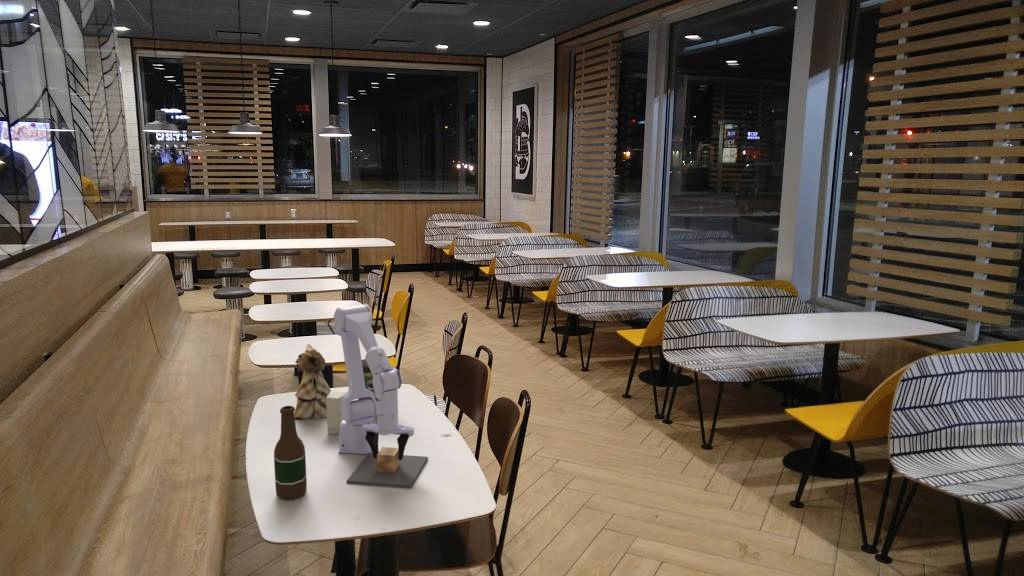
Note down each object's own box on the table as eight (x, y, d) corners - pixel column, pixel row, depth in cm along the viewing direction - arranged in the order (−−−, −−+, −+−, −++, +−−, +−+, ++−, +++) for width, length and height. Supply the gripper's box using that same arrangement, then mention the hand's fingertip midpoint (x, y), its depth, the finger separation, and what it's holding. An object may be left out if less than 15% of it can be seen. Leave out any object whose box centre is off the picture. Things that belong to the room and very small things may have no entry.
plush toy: (348, 406, 239) (330, 338, 235) (328, 421, 226) (309, 350, 222) (313, 410, 243) (295, 344, 239) (292, 426, 230) (272, 356, 226)
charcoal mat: (346, 483, 185) (346, 480, 185) (368, 455, 203) (368, 452, 203) (410, 488, 183) (410, 485, 183) (427, 459, 201) (427, 456, 200)
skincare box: (339, 435, 217) (338, 398, 215) (326, 433, 218) (325, 397, 216) (348, 427, 223) (347, 392, 221) (335, 426, 224) (334, 391, 222)
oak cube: (377, 471, 191) (377, 454, 190) (383, 463, 196) (382, 447, 195) (394, 472, 190) (394, 455, 189) (399, 464, 195) (399, 448, 194)
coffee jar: (382, 404, 244) (380, 354, 240) (388, 412, 237) (387, 360, 234) (355, 408, 240) (353, 358, 236) (361, 416, 233) (359, 364, 229)
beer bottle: (274, 489, 181) (270, 404, 177) (305, 484, 184) (301, 400, 180) (277, 503, 174) (272, 414, 170) (308, 498, 177) (304, 410, 173)
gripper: (357, 415, 187) (358, 462, 189) (408, 419, 185) (409, 465, 187) (366, 406, 194) (367, 451, 196) (415, 409, 192) (416, 455, 194)
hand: (388, 457), depth 192 cm, fingers open, 7 cm apart
